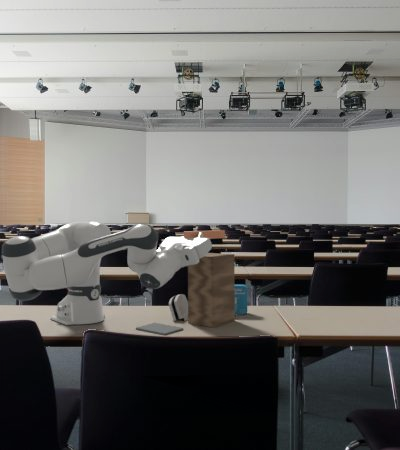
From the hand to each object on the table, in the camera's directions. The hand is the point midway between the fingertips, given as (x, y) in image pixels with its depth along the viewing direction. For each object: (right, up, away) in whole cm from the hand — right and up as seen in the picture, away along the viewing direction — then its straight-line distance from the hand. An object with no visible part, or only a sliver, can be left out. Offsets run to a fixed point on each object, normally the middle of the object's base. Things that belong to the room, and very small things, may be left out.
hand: (196, 234), depth 172 cm
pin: (+3, -2, +4) cm, 6 cm away
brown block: (+6, -34, +8) cm, 35 cm away
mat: (-13, -34, -4) cm, 37 cm away
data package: (+15, -34, +23) cm, 44 cm away
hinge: (-6, -34, +18) cm, 39 cm away
